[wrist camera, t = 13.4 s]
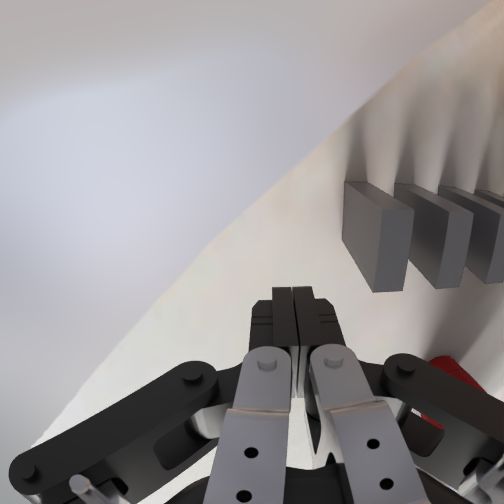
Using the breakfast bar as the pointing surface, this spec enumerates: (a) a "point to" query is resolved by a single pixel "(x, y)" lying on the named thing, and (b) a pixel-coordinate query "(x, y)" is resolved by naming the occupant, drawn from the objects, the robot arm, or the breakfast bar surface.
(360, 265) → the domino
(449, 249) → the domino
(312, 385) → the robot arm
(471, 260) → the domino
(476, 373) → the breakfast bar surface
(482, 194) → the domino
